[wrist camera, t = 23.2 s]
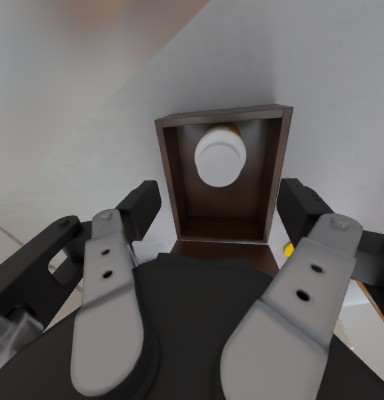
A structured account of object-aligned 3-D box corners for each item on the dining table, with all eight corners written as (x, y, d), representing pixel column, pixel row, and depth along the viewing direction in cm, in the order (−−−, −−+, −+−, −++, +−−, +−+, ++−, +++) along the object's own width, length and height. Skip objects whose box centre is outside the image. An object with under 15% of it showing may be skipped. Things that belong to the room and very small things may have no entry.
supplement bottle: (242, 158, 24) (251, 190, 16) (205, 163, 25) (196, 196, 17) (239, 116, 21) (248, 130, 13) (198, 125, 23) (183, 143, 15)
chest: (170, 114, 23) (154, 120, 18) (276, 103, 21) (293, 107, 15) (185, 216, 32) (177, 240, 27) (260, 218, 30) (267, 244, 24)
